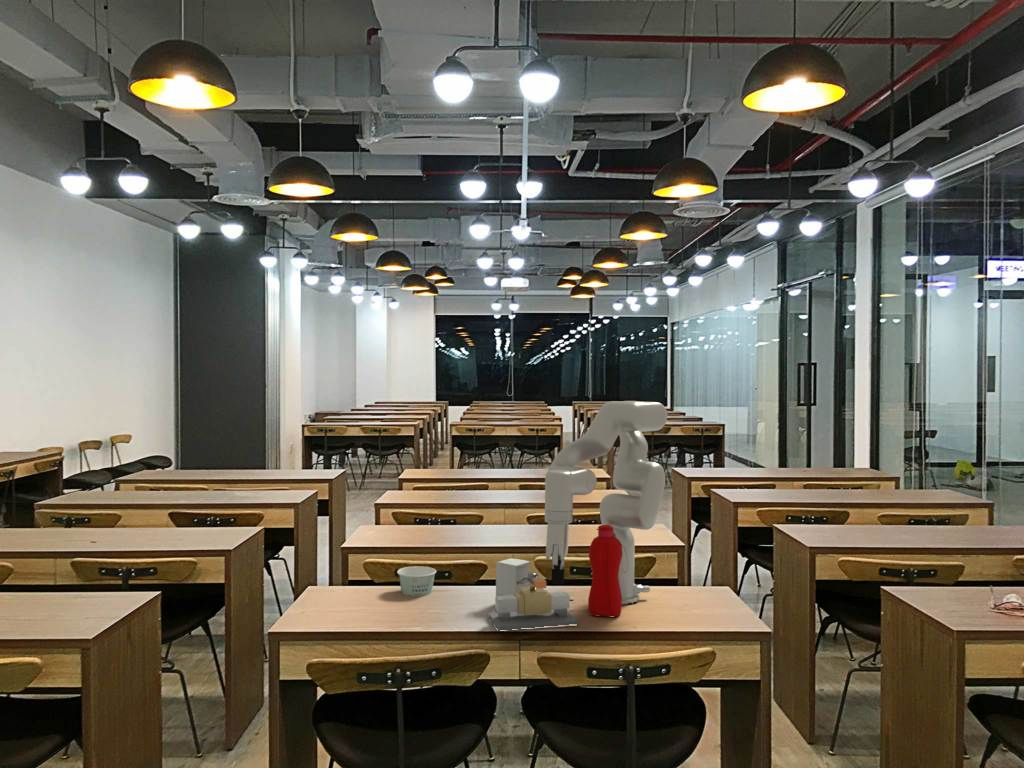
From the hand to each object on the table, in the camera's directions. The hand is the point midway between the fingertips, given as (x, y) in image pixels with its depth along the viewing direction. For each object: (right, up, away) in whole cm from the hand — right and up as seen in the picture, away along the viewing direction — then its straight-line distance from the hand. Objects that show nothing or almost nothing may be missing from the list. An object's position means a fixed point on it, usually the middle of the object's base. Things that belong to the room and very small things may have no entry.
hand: (557, 583), depth 237 cm
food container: (-42, -10, +31) cm, 53 cm away
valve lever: (-6, 0, -2) cm, 6 cm away
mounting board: (-7, -11, +2) cm, 13 cm away
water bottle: (+15, -11, +10) cm, 21 cm away
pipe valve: (-7, -10, +2) cm, 12 cm away
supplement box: (-12, -11, +19) cm, 25 cm away
